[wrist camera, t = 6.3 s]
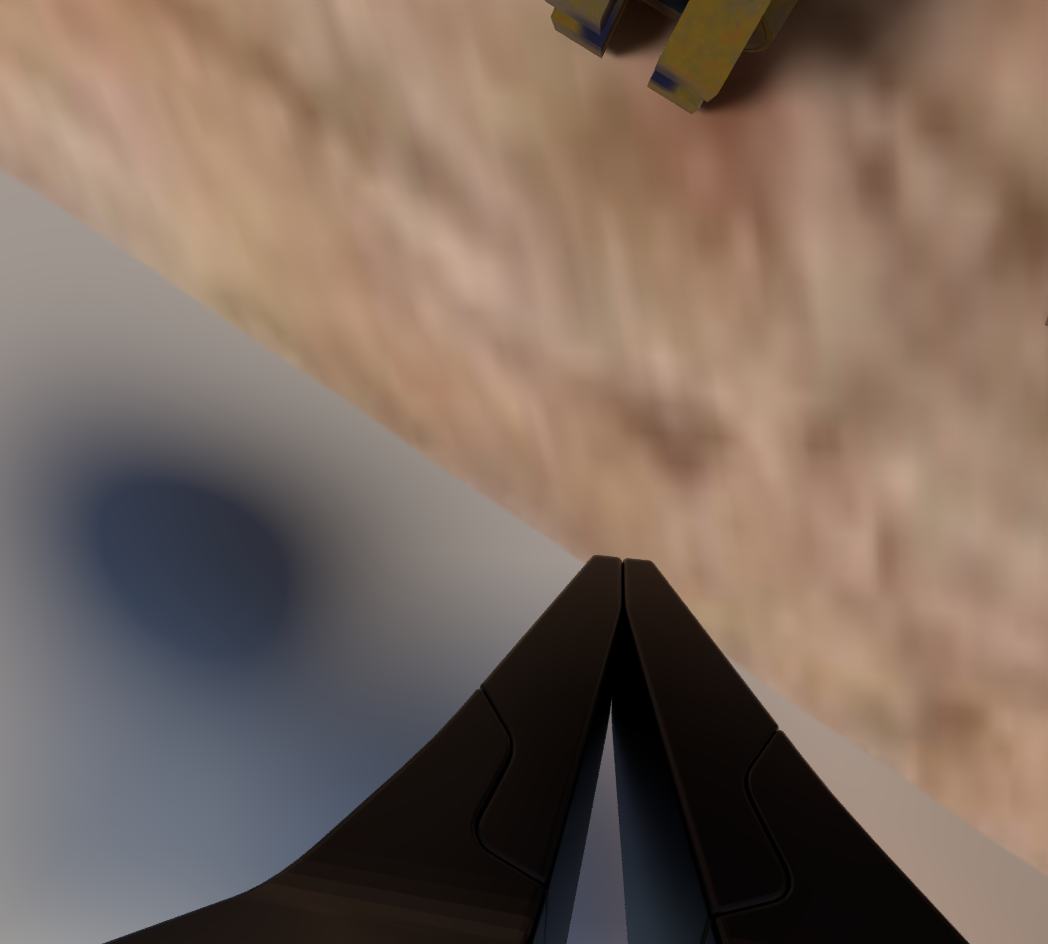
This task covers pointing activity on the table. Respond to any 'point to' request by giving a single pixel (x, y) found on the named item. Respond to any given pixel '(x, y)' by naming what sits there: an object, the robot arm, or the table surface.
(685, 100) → the pipe connector
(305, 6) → the table surface
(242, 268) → the table surface
